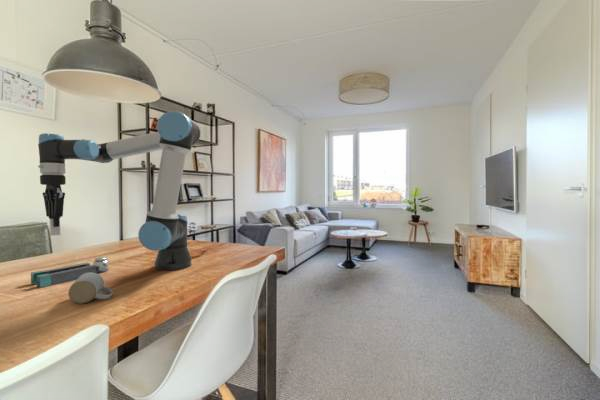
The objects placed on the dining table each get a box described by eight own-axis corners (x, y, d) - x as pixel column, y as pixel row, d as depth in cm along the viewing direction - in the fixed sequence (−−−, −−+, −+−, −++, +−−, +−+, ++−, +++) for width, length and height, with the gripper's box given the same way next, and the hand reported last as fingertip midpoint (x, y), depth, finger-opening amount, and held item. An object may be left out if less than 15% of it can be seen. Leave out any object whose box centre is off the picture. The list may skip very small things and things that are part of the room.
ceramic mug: (66, 306, 85) (66, 280, 84) (76, 296, 92) (76, 273, 92) (109, 302, 89) (109, 277, 88) (114, 293, 96) (115, 270, 96)
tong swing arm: (101, 268, 124) (101, 256, 124) (108, 270, 121) (108, 257, 121) (31, 282, 104) (30, 268, 104) (36, 285, 101) (36, 270, 101)
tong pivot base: (104, 269, 124) (103, 258, 123) (112, 271, 121) (111, 260, 120) (32, 284, 103) (32, 272, 103) (40, 287, 100) (39, 275, 100)
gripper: (33, 174, 112) (35, 235, 113) (48, 173, 106) (50, 237, 107) (56, 175, 119) (59, 232, 120) (72, 174, 113) (74, 234, 114)
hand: (55, 234), depth 114 cm, fingers closed
